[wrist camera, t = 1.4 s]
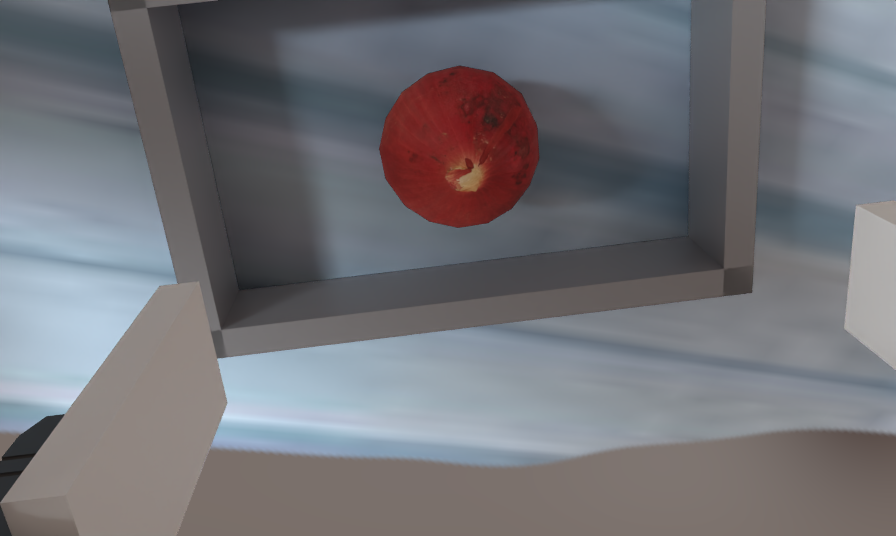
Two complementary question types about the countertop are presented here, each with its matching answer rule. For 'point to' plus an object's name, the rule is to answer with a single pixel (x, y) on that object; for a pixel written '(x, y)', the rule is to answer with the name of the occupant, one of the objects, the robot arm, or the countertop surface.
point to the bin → (468, 284)
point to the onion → (460, 146)
